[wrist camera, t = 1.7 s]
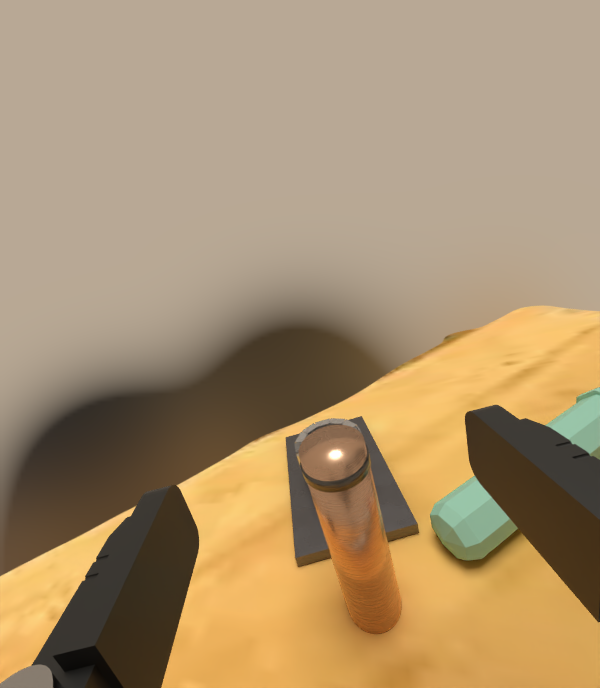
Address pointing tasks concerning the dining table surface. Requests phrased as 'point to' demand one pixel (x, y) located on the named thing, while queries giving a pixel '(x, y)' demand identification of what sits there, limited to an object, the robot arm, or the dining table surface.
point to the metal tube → (352, 524)
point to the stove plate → (304, 513)
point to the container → (480, 508)
